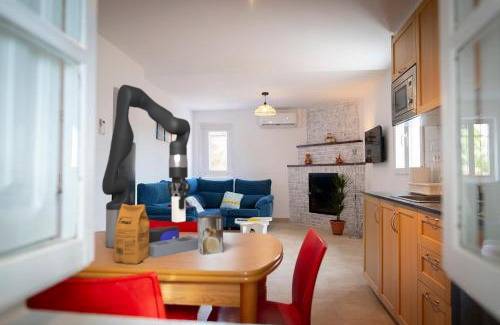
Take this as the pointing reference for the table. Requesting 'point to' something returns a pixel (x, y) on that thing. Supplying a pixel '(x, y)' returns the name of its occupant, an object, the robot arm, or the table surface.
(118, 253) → the coffee package
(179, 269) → the table surface
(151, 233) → the dark computer mouse
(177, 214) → the plug
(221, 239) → the coffee box
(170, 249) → the block
